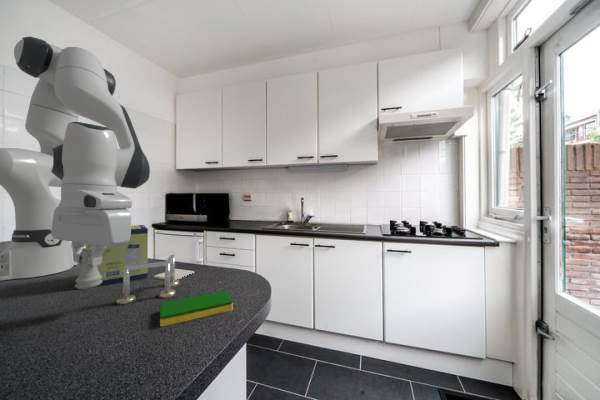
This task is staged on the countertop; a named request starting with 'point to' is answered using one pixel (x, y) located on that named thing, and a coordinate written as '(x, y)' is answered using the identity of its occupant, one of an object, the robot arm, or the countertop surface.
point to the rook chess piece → (88, 272)
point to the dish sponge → (194, 307)
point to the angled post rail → (168, 265)
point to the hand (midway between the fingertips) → (88, 263)
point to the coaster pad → (178, 274)
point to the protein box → (125, 257)
